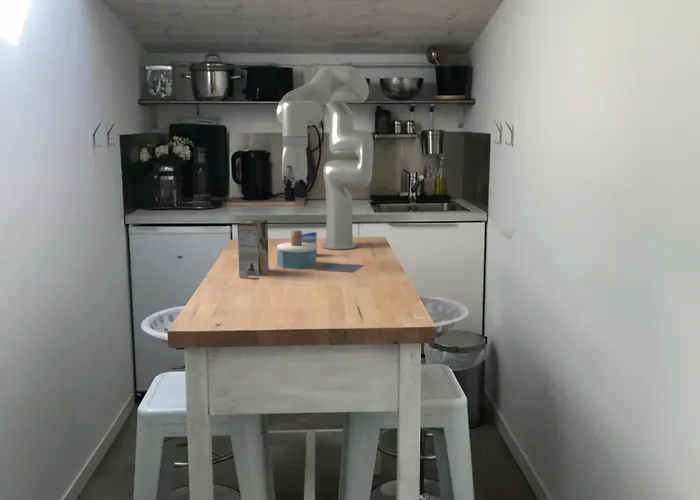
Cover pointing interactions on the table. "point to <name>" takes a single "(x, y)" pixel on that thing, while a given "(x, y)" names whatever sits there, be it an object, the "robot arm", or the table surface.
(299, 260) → the pot
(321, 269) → the mat
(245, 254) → the coffee box
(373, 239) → the table surface
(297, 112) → the robot arm
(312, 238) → the medicine box
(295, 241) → the lid
